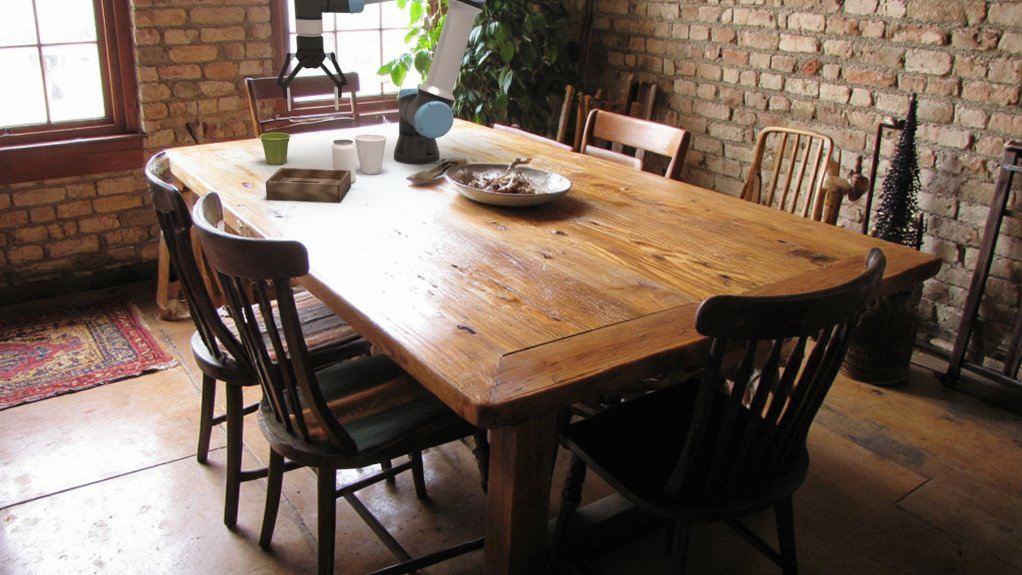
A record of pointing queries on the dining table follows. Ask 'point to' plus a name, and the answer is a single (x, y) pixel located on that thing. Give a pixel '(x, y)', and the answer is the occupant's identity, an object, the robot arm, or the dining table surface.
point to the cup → (370, 152)
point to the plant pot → (275, 147)
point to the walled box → (308, 185)
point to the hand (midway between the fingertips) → (313, 110)
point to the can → (344, 156)
